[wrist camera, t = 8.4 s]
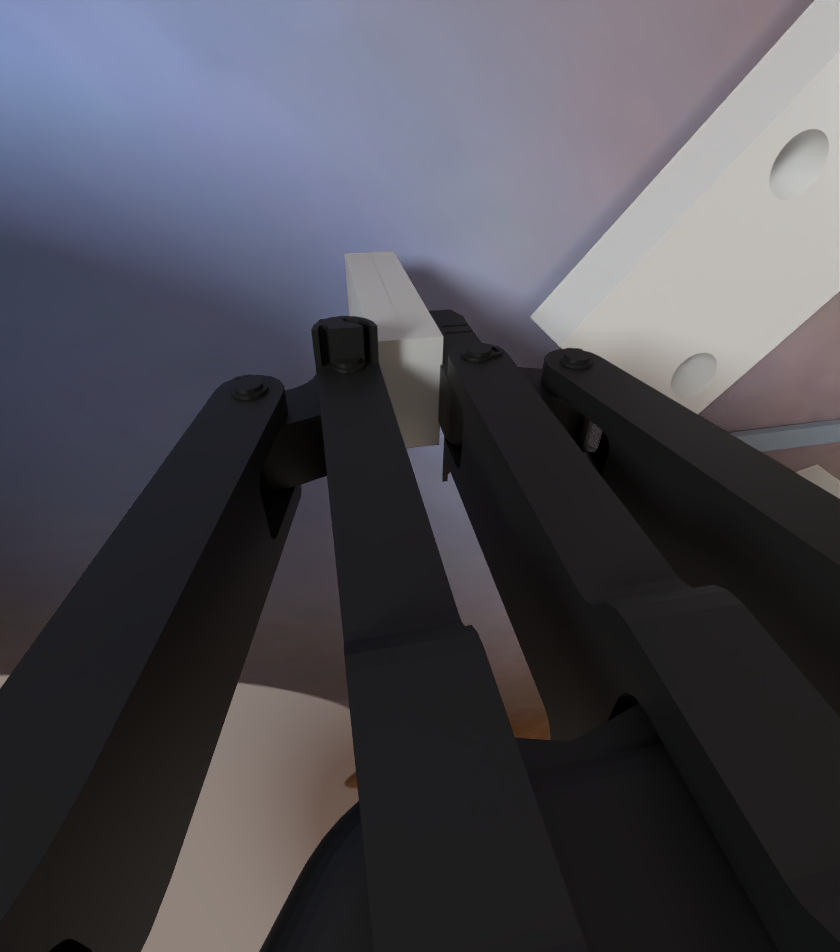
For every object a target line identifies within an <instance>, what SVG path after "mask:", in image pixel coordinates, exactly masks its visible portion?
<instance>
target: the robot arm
mask: <svg viewBox="0 0 840 952" xmlns="http://www.w3.org/2000/svg"><path fill="white" fill-rule="evenodd" d="M344 254H345V267H346V280H347V294H348V307H349V316H338V317H331V318H327V319H320V320H319V321H318V322H317V323H316V324H315V325H313V328H312V330H311V331H312V339H313V347H314V355H315V363H316V375H315V376H314V378H313V379H312V380H310V381H309V382H308V383H306V384H304V385H302V386H299V387H296V388H293V389H290V390H286V391H285V389H284V385H283V384H282V383H281V381H280V380H278V379H275V378H273V377H270V376H263V375H243V376H242V377H241V376H239V377H236V378H234V379H232V380H230V381H228V382H225V383H223V384H222V385H221V386H220V387H218V388H217V389H216V390H215V392H214V393H213V394H212V396H211V397H210V399H209V400H208V401H207V403H206V404H205V406H204V407H203V408H202V410H201V411H200V412H199V414H198V415H197V417H196V418H195V419H194V421H193V422H192V424H191V425H190V426H189V428H188V429H187V430H186V432H185V433H184V435H183V436H182V437H181V439H180V440H179V442H178V443H177V444H176V446H175V447H174V449H173V450H172V451H171V453H170V454H169V455H168V457H167V458H166V460H165V461H164V462H163V464H162V465H161V467H160V468H159V469H158V471H157V472H156V473H155V475H154V476H153V478H152V479H151V480H150V482H149V483H148V485H147V486H146V487H145V489H144V490H143V492H142V493H141V494H140V496H139V497H138V498H137V500H136V501H135V503H134V504H133V505H132V507H131V508H130V510H129V511H128V512H127V514H126V515H125V516H124V518H123V519H122V521H121V522H120V523H119V525H118V526H117V528H116V529H115V530H114V532H113V533H112V535H111V536H110V537H109V539H108V540H107V541H106V543H105V544H104V546H103V547H102V548H101V550H100V551H99V553H98V554H97V555H96V557H95V558H94V559H93V561H92V562H91V564H90V565H89V566H88V568H87V569H86V571H85V572H84V573H83V575H82V576H81V578H80V579H79V580H78V582H77V583H76V584H75V586H74V587H73V589H72V590H71V591H70V593H69V594H68V596H67V597H66V598H65V600H64V601H63V602H62V604H61V605H60V607H59V608H58V609H57V611H56V612H55V614H54V615H53V616H52V618H51V619H50V621H49V622H48V623H47V625H46V626H45V627H44V629H43V630H42V632H41V633H40V634H39V636H38V637H37V639H36V640H35V641H34V643H33V644H32V645H31V647H30V648H29V650H28V651H27V652H26V654H25V655H24V657H23V658H22V659H21V661H20V662H19V664H18V665H17V666H16V668H15V669H14V670H13V672H12V673H11V675H10V676H9V677H8V679H7V680H6V682H5V683H4V684H3V686H2V687H1V689H0V952H141V950H142V948H143V946H144V944H145V942H146V940H147V937H148V935H149V933H150V931H151V928H152V926H153V923H154V921H155V918H156V916H157V913H158V910H159V908H160V905H161V903H162V900H163V897H164V895H165V892H166V890H167V887H168V885H169V882H170V879H171V877H172V874H173V871H174V868H175V865H176V862H177V859H178V856H179V853H180V851H181V847H182V845H183V842H184V839H185V836H186V833H187V830H188V827H189V824H190V821H191V818H192V815H193V812H194V809H195V806H196V803H197V800H198V797H199V794H200V791H201V788H202V786H203V783H204V780H205V777H206V774H207V771H208V768H209V765H210V762H211V759H212V756H213V753H214V750H215V747H216V744H217V742H218V738H219V736H220V733H221V730H222V727H223V724H224V721H225V718H226V715H227V712H228V709H229V706H230V703H231V700H232V697H233V695H234V692H235V689H236V686H237V683H238V680H239V677H240V674H241V671H242V668H243V665H244V662H245V659H246V656H247V653H248V650H249V647H250V644H251V642H252V639H253V636H254V633H255V630H256V627H257V624H258V621H259V618H260V615H261V612H262V609H263V606H264V603H265V600H266V597H267V594H268V591H269V589H270V586H271V583H272V580H273V577H274V574H275V571H276V568H277V565H278V562H279V559H280V556H281V553H282V550H283V547H284V544H285V541H286V538H287V536H288V533H289V530H290V527H291V524H292V521H293V518H294V515H295V512H296V509H297V506H298V503H299V500H300V497H301V484H304V483H307V482H310V481H313V480H316V479H318V478H321V477H324V476H327V480H328V489H329V499H330V509H331V519H332V528H333V538H334V548H335V558H336V567H337V577H338V587H339V597H340V607H341V616H342V626H343V636H344V655H345V666H346V676H347V686H348V696H349V706H350V716H351V725H352V736H353V746H354V756H355V765H356V776H357V786H358V796H359V801H358V802H357V803H356V804H355V805H354V806H353V807H352V808H351V809H350V810H348V811H347V812H346V813H345V814H344V815H343V816H342V817H341V818H340V819H339V820H338V821H337V823H336V824H335V825H334V826H333V827H332V828H331V829H330V831H329V832H328V833H327V834H326V835H325V836H324V838H323V839H322V840H321V842H320V843H319V845H318V846H317V848H316V849H315V851H314V852H313V854H312V855H311V856H310V858H309V860H308V861H307V863H306V864H305V866H304V868H303V870H302V871H301V873H300V875H299V877H298V879H297V880H296V882H295V884H294V886H293V888H292V890H291V892H290V894H289V896H288V898H287V900H286V901H285V904H284V905H283V907H282V909H281V911H280V913H279V915H278V917H277V919H276V921H275V923H274V924H273V926H272V928H271V930H270V932H269V934H268V936H267V938H266V940H265V942H264V944H263V945H262V947H261V949H260V951H259V952H840V499H839V498H838V497H836V496H834V495H832V494H831V493H829V492H827V491H826V490H824V489H822V488H821V487H819V486H817V485H816V484H814V483H812V482H811V481H809V480H807V479H806V478H804V477H802V476H800V475H799V474H797V473H795V472H794V471H792V470H790V469H789V468H787V467H785V466H784V465H782V464H780V463H779V462H777V461H775V460H774V459H772V458H770V457H768V456H767V455H765V454H763V453H762V452H760V451H758V450H757V449H755V448H753V447H752V446H750V445H748V444H747V443H745V442H743V441H742V440H740V439H738V438H737V437H735V436H733V435H731V434H730V433H728V432H726V431H725V430H723V429H721V428H720V427H718V426H716V425H715V424H713V423H711V422H710V421H708V420H706V419H705V418H703V417H701V416H699V415H698V414H696V413H694V412H693V411H691V410H689V409H688V408H686V407H684V406H683V405H681V404H679V403H678V402H676V401H674V400H673V399H671V398H669V397H667V396H666V395H664V394H662V393H661V392H659V391H657V390H656V389H654V388H652V387H651V386H649V385H647V384H646V383H644V382H642V381H641V380H639V379H637V378H635V377H634V376H632V375H630V374H629V373H627V372H625V371H624V370H622V369H620V368H619V367H617V366H615V365H614V364H612V363H610V362H609V361H607V360H605V359H603V358H602V357H600V356H598V355H596V354H593V353H591V352H587V351H583V350H582V349H579V348H574V349H573V348H565V349H560V350H555V351H552V352H549V353H548V354H547V355H546V356H545V359H544V365H543V369H533V368H522V367H517V366H516V364H515V363H514V362H513V360H512V359H511V358H510V356H509V355H508V354H507V353H506V352H505V351H504V350H502V349H501V348H499V347H497V346H494V345H490V344H484V343H481V342H480V340H479V339H478V337H477V336H476V335H475V333H474V332H473V330H472V329H471V327H470V326H468V323H467V322H466V320H465V319H464V318H463V316H461V315H459V314H457V313H455V312H454V311H452V310H437V311H428V309H427V308H426V306H425V304H424V303H423V301H422V299H421V297H420V296H419V294H418V292H417V291H416V289H415V287H414V285H413V284H412V282H411V280H410V279H409V277H408V275H407V273H406V272H405V270H404V268H403V267H402V265H401V263H400V261H399V260H398V258H397V256H396V255H395V253H394V251H389V252H366V253H344ZM593 423H594V424H596V425H597V426H598V427H600V428H601V429H602V430H603V432H602V435H601V439H600V443H599V446H598V448H597V450H596V449H594V448H592V447H591V446H590V445H589V444H588V440H589V436H590V432H591V429H592V425H593ZM440 426H441V429H442V431H443V433H444V453H443V474H442V477H443V481H447V478H448V474H449V472H451V474H452V477H453V479H454V482H455V484H456V487H457V489H458V492H459V494H460V497H461V499H462V502H463V504H464V507H465V509H466V512H467V514H468V517H469V519H470V522H471V524H472V527H473V529H474V532H475V534H476V537H477V539H478V542H479V544H480V547H481V549H482V552H483V554H484V557H485V559H486V562H487V564H488V567H489V569H490V572H491V574H492V577H493V579H494V582H495V584H496V587H497V589H498V592H499V594H500V597H501V599H502V602H503V604H504V607H505V609H506V612H507V614H508V617H509V619H510V622H511V624H512V627H513V629H514V632H515V634H516V637H517V639H518V642H519V644H520V647H521V649H522V652H523V654H524V657H525V659H526V662H527V664H528V667H529V669H530V671H531V674H532V676H533V679H534V681H535V684H536V686H537V689H538V691H539V694H540V696H541V699H542V701H543V704H544V706H545V709H546V712H547V715H548V720H549V724H550V734H551V740H540V739H525V738H515V737H514V734H513V731H512V728H511V725H510V722H509V719H508V716H507V714H506V711H505V708H504V705H503V702H502V699H501V696H500V693H499V690H498V687H497V684H496V681H495V679H494V676H493V673H492V670H491V667H490V664H489V661H488V658H487V655H486V652H485V649H484V647H483V644H482V642H481V640H480V637H479V635H478V633H477V631H476V630H475V629H474V627H473V626H472V625H469V626H464V624H463V623H462V621H461V619H460V616H459V614H458V611H457V607H456V604H455V601H454V598H453V595H452V592H451V589H450V585H449V582H448V579H447V576H446V573H445V570H444V567H443V563H442V560H441V557H440V554H439V551H438V548H437V545H436V541H435V538H434V535H433V532H432V529H431V526H430V523H429V519H428V516H427V513H426V510H425V507H424V504H423V501H422V497H421V494H420V491H419V488H418V485H417V482H416V479H415V475H414V472H413V469H412V466H411V463H410V460H409V456H408V453H407V450H406V448H411V447H421V446H430V445H439V431H440Z"/></svg>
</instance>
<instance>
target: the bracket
mask: <svg viewBox="0 0 840 952" xmlns="http://www.w3.org/2000/svg"><path fill="white" fill-rule="evenodd" d="M839 291H840V0H814V1H813V2H812V4H811V5H810V6H809V7H808V8H807V9H806V10H805V11H804V12H803V14H802V15H801V16H800V17H799V18H798V19H797V20H796V21H795V23H794V24H793V25H792V26H791V27H790V28H789V29H788V30H787V31H786V33H785V34H784V35H783V36H782V37H781V38H780V39H779V40H778V41H777V43H776V44H775V45H774V46H773V47H772V48H771V49H770V50H769V51H768V53H767V54H766V55H765V56H764V57H763V58H762V59H761V60H760V61H759V63H758V64H757V65H756V66H755V67H754V68H753V69H752V70H751V71H750V73H749V74H748V75H747V76H746V77H745V78H744V79H743V80H742V81H741V83H740V84H739V85H738V86H737V87H736V88H735V89H734V90H733V92H732V93H731V94H730V95H729V96H728V97H727V98H726V99H725V100H724V102H723V103H722V104H721V105H720V106H719V107H718V108H717V109H716V110H715V112H714V113H713V114H712V115H711V116H710V117H709V118H708V119H707V120H706V122H705V123H704V124H703V125H702V126H701V127H700V128H699V129H698V130H697V132H696V133H695V134H694V135H693V136H692V137H691V138H690V139H689V140H688V142H687V143H686V144H685V145H684V146H683V147H682V148H681V149H680V150H679V152H678V153H677V154H676V155H675V156H674V157H673V158H672V159H671V161H670V162H669V163H668V164H667V165H666V166H665V167H664V168H663V169H662V171H661V172H660V173H659V174H658V175H657V176H656V177H655V178H654V179H653V181H652V182H651V183H650V184H649V185H648V186H647V187H646V188H645V189H644V191H643V192H642V193H641V194H640V195H639V196H638V197H637V198H636V199H635V201H634V202H633V203H632V204H631V205H630V206H629V207H628V208H627V209H626V211H625V212H624V213H623V214H622V215H621V216H620V217H619V218H618V219H617V221H616V222H615V223H614V224H613V225H612V226H611V227H610V228H609V230H608V231H607V232H606V233H605V234H604V235H603V236H602V237H601V238H600V240H599V241H598V242H597V243H596V244H595V245H594V246H593V247H592V248H591V250H590V251H589V252H588V253H587V254H586V255H585V256H584V257H583V258H582V260H581V261H580V262H579V263H578V264H577V265H576V266H575V267H574V268H573V270H572V271H571V272H570V273H569V274H568V275H567V276H566V277H565V278H564V280H563V281H562V282H561V283H560V284H559V285H558V286H557V287H556V289H555V290H554V291H553V292H552V293H551V294H550V295H549V296H548V297H547V299H546V300H545V301H544V302H543V303H542V304H541V305H540V306H539V307H538V309H537V310H536V311H535V312H534V313H533V314H532V315H531V316H530V318H531V319H532V320H533V321H534V322H535V323H536V324H537V325H538V326H539V327H540V328H541V329H542V330H543V331H544V332H545V333H546V334H547V335H548V336H549V337H550V338H551V339H552V340H553V341H554V342H555V343H556V344H557V345H558V346H559V347H561V348H562V349H565V348H573V349H574V348H579V349H582V350H583V351H587V352H591V353H593V354H596V355H598V356H600V357H602V358H603V359H605V360H607V361H609V362H610V363H612V364H614V365H615V366H617V367H619V368H620V369H622V370H624V371H625V372H627V373H629V374H630V375H632V376H634V377H635V378H637V379H639V380H641V381H642V382H644V383H646V384H647V385H649V386H651V387H652V388H654V389H656V390H657V391H659V392H661V393H662V394H664V395H666V396H667V397H669V398H671V399H673V400H674V401H676V402H678V403H679V404H681V405H683V406H684V407H686V408H688V409H689V410H691V411H693V412H694V413H696V414H699V413H700V412H701V411H702V410H703V409H705V408H706V407H707V406H708V405H709V404H710V403H712V402H713V401H714V400H715V399H716V398H717V397H718V396H720V395H721V394H722V393H723V392H724V391H725V390H726V389H728V388H729V387H730V386H731V385H732V384H733V383H735V382H736V381H737V380H738V379H739V378H740V377H741V376H743V375H744V374H745V373H746V372H747V371H748V370H749V369H751V368H752V367H753V366H754V365H755V364H756V363H757V362H759V361H760V360H761V359H762V358H763V357H764V356H766V355H767V354H768V353H769V352H770V351H771V350H772V349H774V348H775V347H776V346H777V345H778V344H779V343H780V342H782V341H783V340H784V339H785V338H786V337H787V336H788V335H790V334H791V333H792V332H793V331H794V330H795V329H797V328H798V327H799V326H800V325H801V324H802V323H803V322H805V321H806V320H807V319H808V318H809V317H810V316H811V315H813V314H814V313H815V312H816V311H817V310H818V309H819V308H821V307H822V306H823V305H824V304H825V303H826V302H828V301H829V300H830V299H831V298H832V297H833V296H834V295H836V294H837V293H838V292H839Z"/></svg>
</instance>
